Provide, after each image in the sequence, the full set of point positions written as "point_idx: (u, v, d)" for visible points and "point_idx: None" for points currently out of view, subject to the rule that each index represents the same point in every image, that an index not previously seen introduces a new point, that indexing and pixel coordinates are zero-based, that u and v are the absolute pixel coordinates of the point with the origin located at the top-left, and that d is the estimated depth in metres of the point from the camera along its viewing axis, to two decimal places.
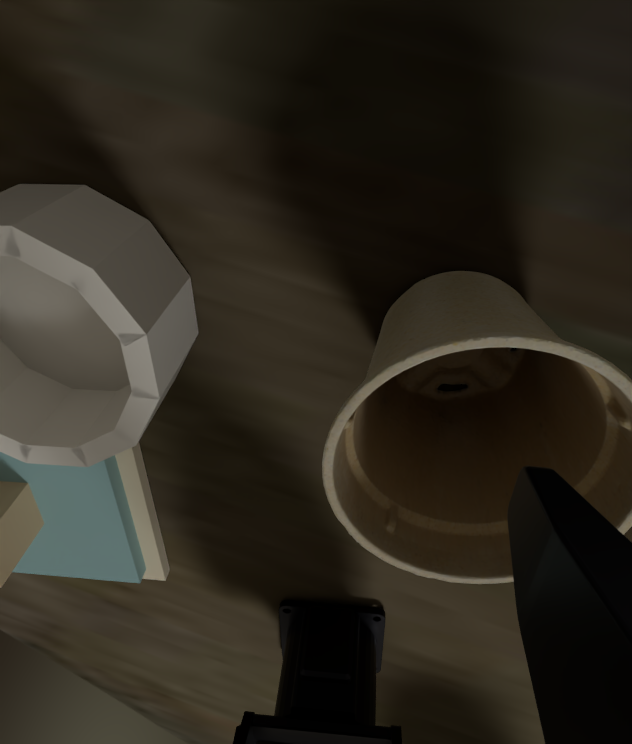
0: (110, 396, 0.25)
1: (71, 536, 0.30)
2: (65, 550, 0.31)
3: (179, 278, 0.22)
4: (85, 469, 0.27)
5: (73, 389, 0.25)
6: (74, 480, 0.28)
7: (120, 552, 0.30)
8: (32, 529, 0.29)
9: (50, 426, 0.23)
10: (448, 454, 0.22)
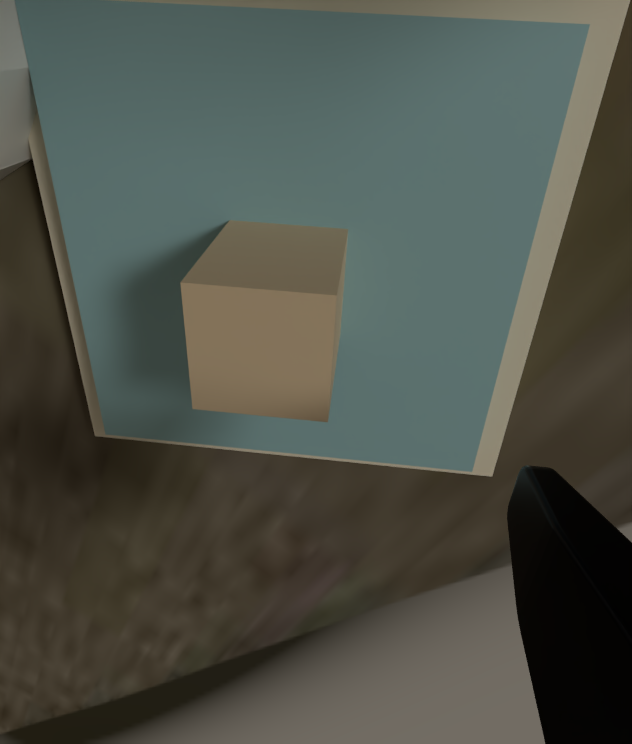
0: None
1: (389, 176, 0.13)
2: (436, 210, 0.13)
3: None
4: (167, 63, 0.12)
5: None
6: (206, 105, 0.12)
7: (452, 52, 0.11)
8: (322, 239, 0.13)
9: None
10: None
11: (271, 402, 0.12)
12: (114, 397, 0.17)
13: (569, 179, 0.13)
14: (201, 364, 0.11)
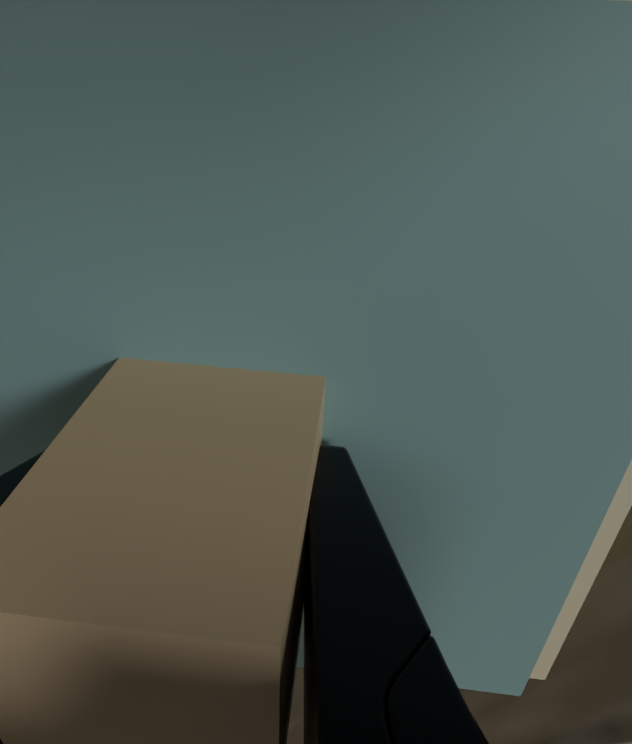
0: None
1: (399, 296, 0.07)
2: (484, 353, 0.07)
3: None
4: None
5: None
6: (53, 168, 0.07)
7: (532, 69, 0.06)
8: (275, 411, 0.07)
9: None
10: None
11: None
12: None
13: None
14: (12, 717, 0.06)
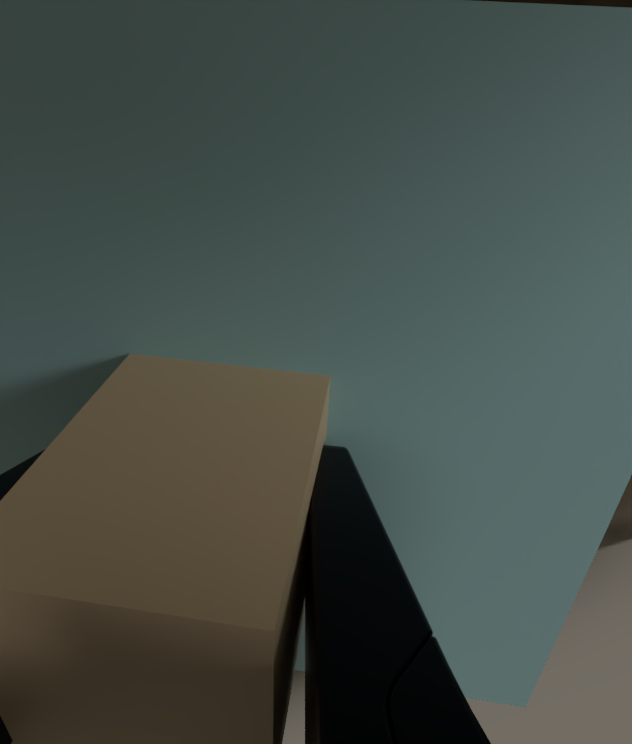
0: None
1: (402, 296, 0.07)
2: (487, 354, 0.07)
3: None
4: None
5: None
6: (69, 168, 0.07)
7: (534, 74, 0.06)
8: (279, 407, 0.07)
9: None
10: None
11: None
12: None
13: None
14: (13, 697, 0.06)
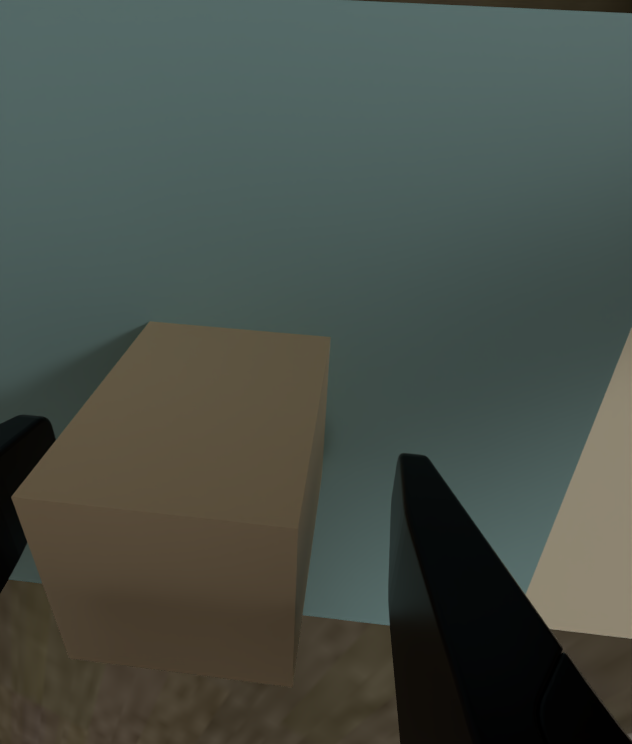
0: None
1: (394, 264, 0.08)
2: (467, 313, 0.08)
3: None
4: (25, 86, 0.07)
5: None
6: (97, 153, 0.08)
7: (503, 67, 0.07)
8: (287, 363, 0.08)
9: None
10: None
11: (195, 658, 0.07)
12: None
13: None
14: (71, 607, 0.07)
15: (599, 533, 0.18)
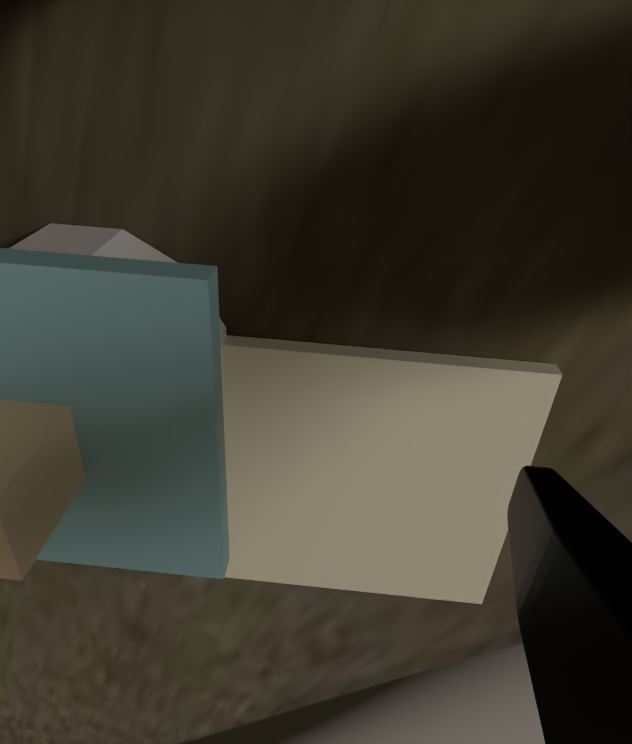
0: None
1: (90, 372, 0.16)
2: (134, 395, 0.16)
3: None
4: None
5: None
6: None
7: (111, 292, 0.15)
8: (36, 422, 0.16)
9: None
10: None
11: None
12: None
13: (527, 459, 0.23)
14: None
15: (339, 517, 0.26)
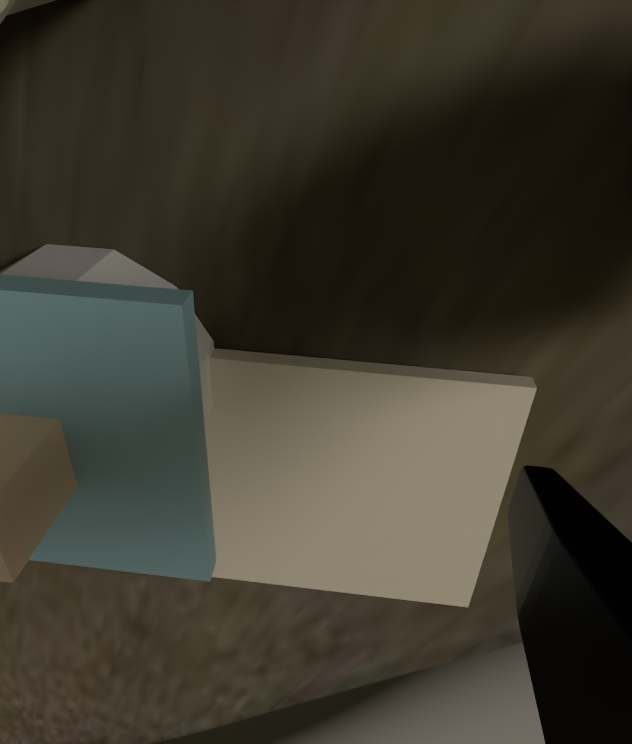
0: None
1: (77, 388, 0.17)
2: (118, 410, 0.17)
3: (29, 255, 0.21)
4: None
5: None
6: None
7: (93, 316, 0.16)
8: (27, 435, 0.17)
9: None
10: None
11: None
12: None
13: (506, 468, 0.24)
14: None
15: (326, 522, 0.27)
